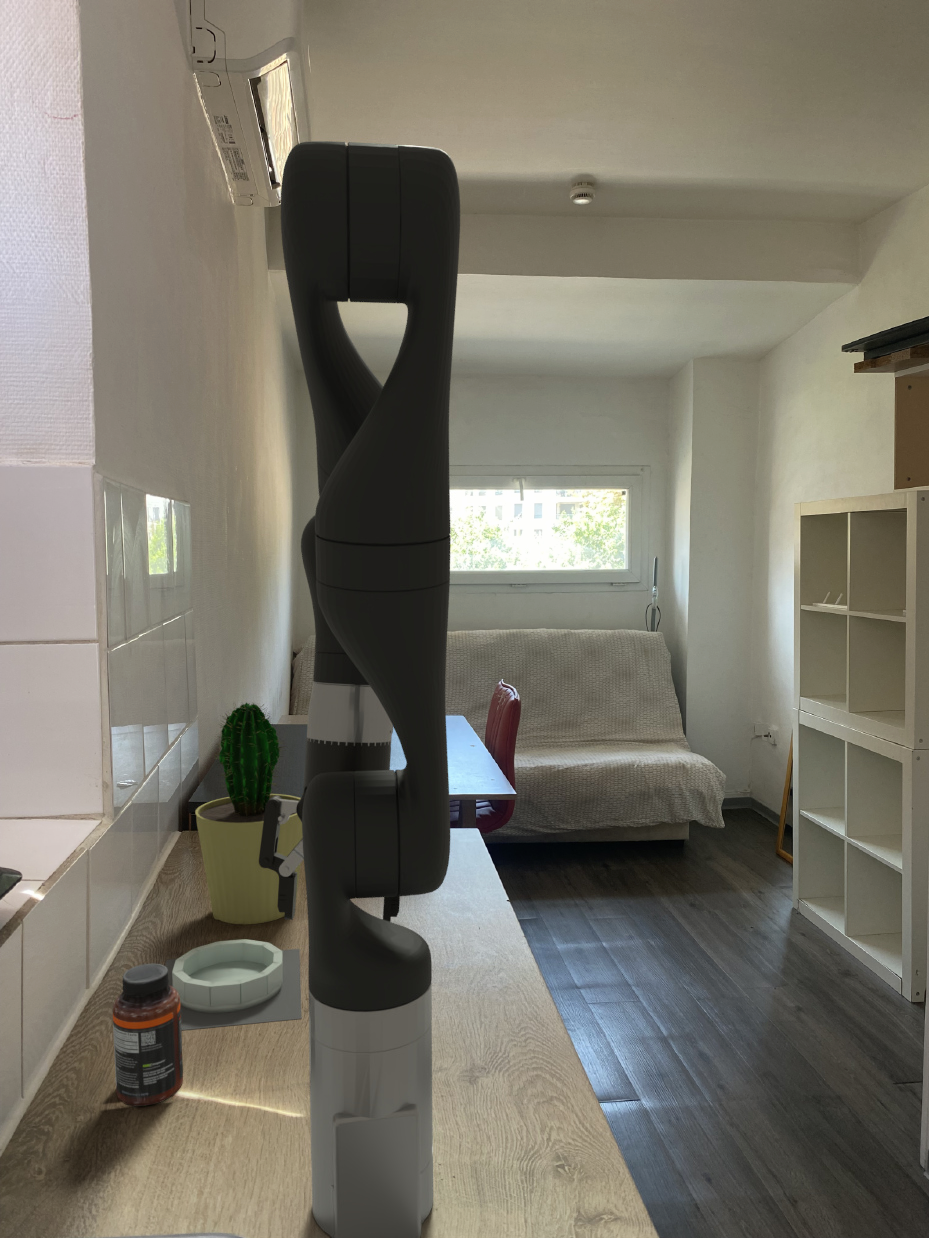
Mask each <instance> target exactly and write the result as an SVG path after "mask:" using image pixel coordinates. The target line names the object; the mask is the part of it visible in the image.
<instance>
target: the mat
mask: <svg viewBox="0 0 929 1238" xmlns="http://www.w3.org/2000/svg"><path fill="white" fill-rule="evenodd" d="M280 950H281V951H282V954H283V984H282V987H281V989H280V991H279V992H278V993H277V994H276V995H275V996H273V997H272V998H270V999H269V1000H267V1001H265V1002H263V1003H261V1004H259V1005H256V1006H253V1007H250V1008H247V1009H243V1010H238V1011H232V1012H223V1013H207V1012H198V1011H194V1010H190V1009H187V1008H185V1007H183V1006H181V1005H180V1009H181V1031H193V1030H202V1029H211V1028H224V1027H233V1026H243V1025H244V1026H245V1025H253V1024H254V1025H255V1024H263V1023H265V1024H266V1023H275V1022H284V1021H294V1020H296V1021H297V1020H302V994H301V993H302V992H301V991H302V989H301V986H302V985H301V984H302V983H301V952H300V951H301V950H300V948H292V949H280ZM177 959H178V958H170V959H166V961H165V963H164V964H165V965H164V966H165V967H167V969H168V979H169V983H168V985H169V986H172V987H173V979H172V971H173V968H174V964H175V961H176V960H177Z"/></svg>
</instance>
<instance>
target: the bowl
mask: <svg viewBox="0 0 929 1238" xmlns="http://www.w3.org/2000/svg"><path fill="white" fill-rule="evenodd" d="M281 950H282V949H280V948H278V947H277V946H275V945H274V944H272V943H271V942H267V941H260V940H253V939H247V938H246V939H245V938H243V939H230V940H220V941H219V940H218V941H215V942H214V941H213V942H211V943H209V944H204V945H201V946H198V947H197V946H196V947H195V948H192V949H191V950H189V951H187V952H186V953H184V954H183V955H181V956H180V957H177V958H176V959H177V960H176V961H175V964H174V968H173V971H172V979H173V988H175V989H176V990H177V992H178V993H179V997H180V1005H181V1006H183V1007H185V1008H187V1009H190V1010H194V1011H198V1012H207V1013H223V1012H232V1011H238V1010H243V1009H247V1008H250V1007H253V1006H256V1005H259V1004H261V1003H263V1002H265V1001H267V1000H269V999H270V998H272V997H273V996H275V995H276V994H277V993H278V992H279V991H280V989H281V987H282V984H283V954H282V951H281Z"/></svg>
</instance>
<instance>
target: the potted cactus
mask: <svg viewBox="0 0 929 1238" xmlns="http://www.w3.org/2000/svg"><path fill="white" fill-rule="evenodd" d="M266 702H267V701H266ZM266 702H265V703H266ZM265 703H264V704H262V705H260V706H259V703H251V704H250V702H245V703H242V704H241V705H240V706H239V707H232V709H231V710H230V712H229V711H227V713H228V714H227V713H225V715H226V717H225V716H223V715H221V717H222V718H223V719H224V720H225V721H224V720H221V722H222V723H221V724H219V728H221V730H220V734H221V735H220V736H219V735H218V736H215V737H216V739H215V740H217V738H219V740H220V743H216V744H215V743H214V745H217V746H218V747H217V750H220V751H218V752H216V753H217V755H215V758H216V760H219V762H218V763H216V765H218V766H223V772H224V773H219V774H217V777H218V776H222V777H224V780H221V781H219V783H220V782H224V781H225V783H224V785H222V783H221V784H219V787H220V788H224V789H223V791H224V790H227V791H226V792H227V794H229V795H228V796H227V797H226V796H225V797H222V798H217V799H213V800H211V801H208V802H206V803H204V804H202V805H201V804H200V806H198V807H197V808H196V809H195V811H194V812H195V816H196V817H195V818H196V827H197V832H198V837H199V843H200V849H201V855H202V860H203V866H204V871H205V878H206V883H207V890H208V894H209V901H210V906H211V907H210V908H211V912H212V915H213V916H212V917H213V918H214V920H219V921H221V922H224V923H227V924H234V925H253V924H262V923H267V922H268V923H269V922H272V921H276V920H278V919H280V918H281V919H282V918H284V912H279V910H278V907H277V904H278V888H279V876H278V874H277V873H276V872H275V871H273V870H271V869H269V868H262V867H261V866H260V865H259V854H260V846H261V838H262V830H263V822H264V814H265V806H266V803H267V802H268V801H269V800H270V799H271V798H272V797H273V796H280V797H281V798H282V799H286V800H295V801H299V800H300V799H301V797H298V796H294V795H289V794H281V793H280V794H279V793H274V792H273V791H272V786H273V787H274V786H275V787H278V786H279V785H277V783H275V782H273V779H275V778H279V776H277V773H279V771H278V770H277V768H279V769H280V770H282V768H281V767H279V766H277V763H280V762H279V761H281V760H282V759H281V758H282V757H283V755H281V753H284V751H285V749H284V748H285V747H286V745H285V744H282V746H279V745H280V743H283V740H279V737H278V735H279V732H278V733H277V731H279V730H282V728H280V729H278V730H276V729H275V727H276V726H274V727H273V724H274V722H271V716H270V712H267V710H268V707H267V706H268V705H267V706H266V707H265V708H264V706H265ZM257 704H258V705H257ZM232 705H234V706H237V705H236V703H235V702H233V704H232ZM262 707H263V708H262ZM218 755H219V756H218ZM280 757H281V758H280ZM209 759H212V757H211V758H209ZM282 762H283V761H281V763H282ZM276 766H277V768H276ZM220 785H221V786H220ZM279 787H280V786H279ZM220 788H219V789H220ZM302 838H303V837H302V822H301V820H300V819H299V817H298V815H297V813H292V814H291V815H290V817H289V819H288V821H287V822H286V823H285V824H280V832H279V840H278V848H277V853H279V854H281V855H284V856H286V857H287V856H288V854H289V853H290V852H291V851H292V850H293V849H294V847H295V846H296V845H297V844H298V842H299V841H300V840H301V839H302ZM301 865H302V862H301V863H300V864H299V866H298V867H297V868H296V869H295V872H298V874H297V890H296V899H297V898H298V889H299V888H298V887H299V881H300V880H299V879H300V873H301Z"/></svg>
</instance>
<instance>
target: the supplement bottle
mask: <svg viewBox="0 0 929 1238" xmlns="http://www.w3.org/2000/svg"><path fill="white" fill-rule="evenodd" d="M168 983H169V979H168V969H167V967H165V965H163V964H160V963H145V964H139V965H135V966H134V967H131V968H129V969H128V970H126V971H125V972H124V973H123V975H122V992H121V993H120V995H118V996H117V998H116V999H115V1001H114V1003H113V1006H112V1026H113V1027H112V1028H113V1048H114V1049H113V1050H114V1072H115V1074H114V1075H115V1077H114V1078H115V1087H116V1095H117V1098H118V1099H119V1100H120V1101H121V1102H122V1103H124V1104H126V1105H130V1106H134V1107H144V1106H152V1105H154V1104H159V1103H161V1102H163V1101H165V1100H168V1099H169V1098H171V1097H172V1096H173V1095H174V1094H175V1093H176V1092H178V1091H179V1090H180V1088H181V1087H182V1086H183V1081H184V1064H183V1063H184V1062H183V1060H184V1059H183V1058H184V1057H183V1038H182V1037H183V1035H182V1034H183V1032H182V1031H181V1009H180V997H179V993H178V992H177V990H176V989H175V988H173V987H172V986H169V985H168Z"/></svg>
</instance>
